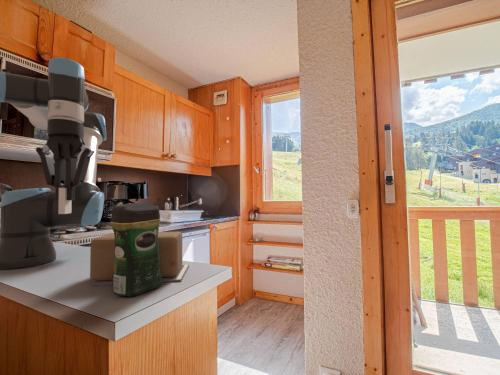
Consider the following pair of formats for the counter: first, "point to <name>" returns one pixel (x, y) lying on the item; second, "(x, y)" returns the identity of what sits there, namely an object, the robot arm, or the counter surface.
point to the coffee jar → (136, 248)
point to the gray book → (164, 279)
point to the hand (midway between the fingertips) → (65, 213)
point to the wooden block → (105, 251)
